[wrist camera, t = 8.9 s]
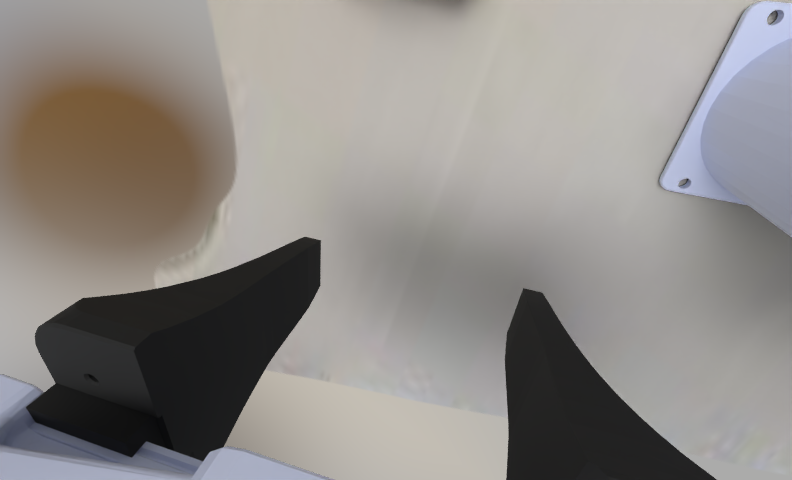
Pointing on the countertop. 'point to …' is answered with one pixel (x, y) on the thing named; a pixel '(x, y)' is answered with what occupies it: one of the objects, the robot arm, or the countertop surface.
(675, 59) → the countertop surface
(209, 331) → the robot arm
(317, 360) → the countertop surface
